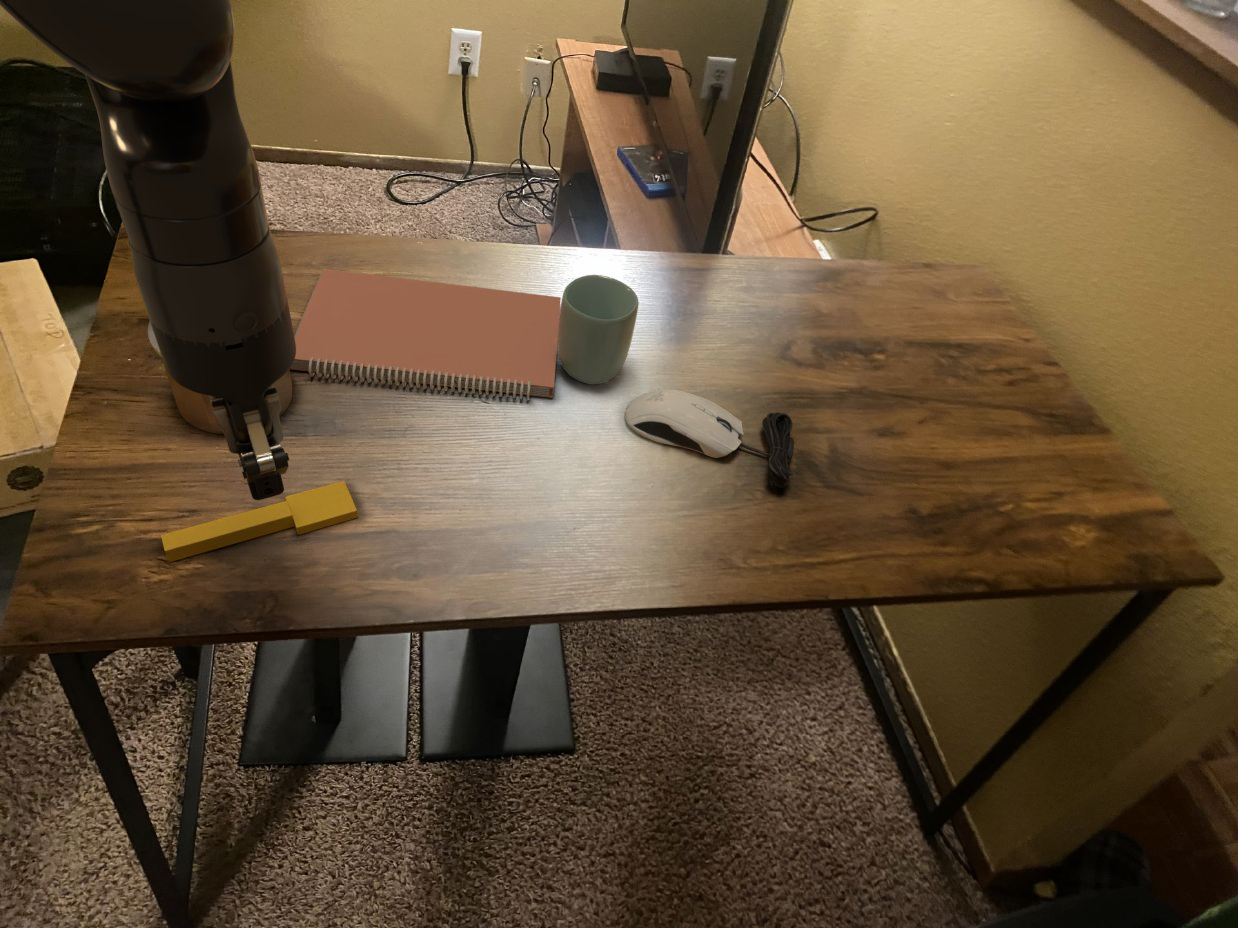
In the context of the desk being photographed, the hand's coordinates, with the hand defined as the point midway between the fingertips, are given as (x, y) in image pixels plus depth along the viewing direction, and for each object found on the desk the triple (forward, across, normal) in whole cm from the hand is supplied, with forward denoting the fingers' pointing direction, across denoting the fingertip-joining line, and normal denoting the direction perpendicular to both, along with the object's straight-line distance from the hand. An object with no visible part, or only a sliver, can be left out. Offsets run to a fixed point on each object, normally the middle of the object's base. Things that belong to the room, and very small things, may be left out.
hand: (267, 490), depth 61 cm
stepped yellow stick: (+11, -6, -1) cm, 13 cm away
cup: (+12, -15, +36) cm, 41 cm away
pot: (+11, -23, +1) cm, 26 cm away
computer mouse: (+12, -1, +43) cm, 44 cm away
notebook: (+12, -25, +22) cm, 35 cm away
